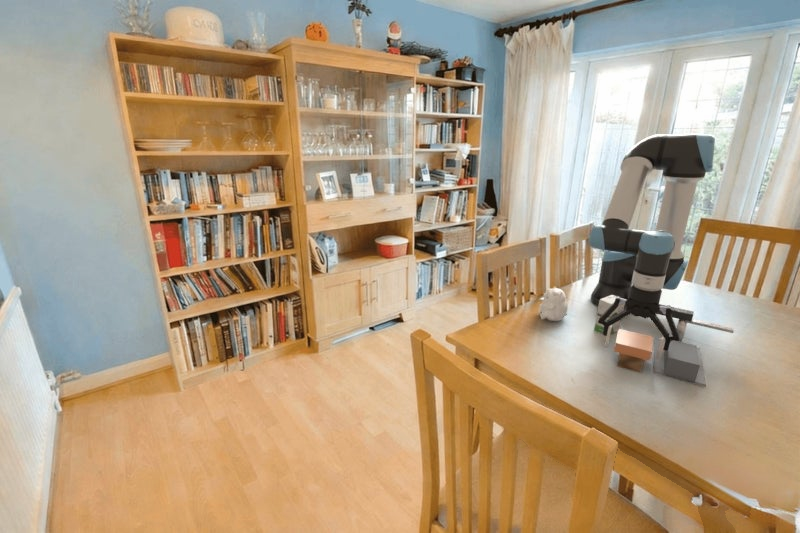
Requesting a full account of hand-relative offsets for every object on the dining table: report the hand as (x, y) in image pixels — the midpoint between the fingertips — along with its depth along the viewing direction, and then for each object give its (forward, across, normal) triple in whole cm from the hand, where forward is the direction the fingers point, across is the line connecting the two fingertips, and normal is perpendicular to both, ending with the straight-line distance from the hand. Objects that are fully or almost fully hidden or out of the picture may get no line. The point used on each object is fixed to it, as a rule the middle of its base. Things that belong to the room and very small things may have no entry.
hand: (631, 351), depth 113 cm
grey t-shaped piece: (+2, +14, +17) cm, 22 cm away
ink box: (+3, -8, +17) cm, 19 cm away
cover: (-1, 0, 0) cm, 1 cm away
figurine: (+3, -26, +16) cm, 31 cm away
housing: (+3, +12, +7) cm, 14 cm away
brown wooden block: (+3, 0, 0) cm, 3 cm away
